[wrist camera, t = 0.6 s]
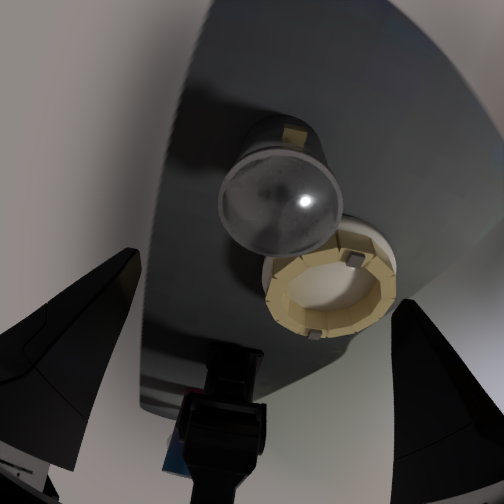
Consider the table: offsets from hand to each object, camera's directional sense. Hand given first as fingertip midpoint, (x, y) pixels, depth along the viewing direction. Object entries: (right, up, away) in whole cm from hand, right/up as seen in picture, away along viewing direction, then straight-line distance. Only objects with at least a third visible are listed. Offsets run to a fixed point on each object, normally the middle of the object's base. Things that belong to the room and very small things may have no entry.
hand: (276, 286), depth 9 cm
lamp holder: (+6, -1, +15) cm, 16 cm away
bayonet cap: (+1, +7, +9) cm, 11 cm away
